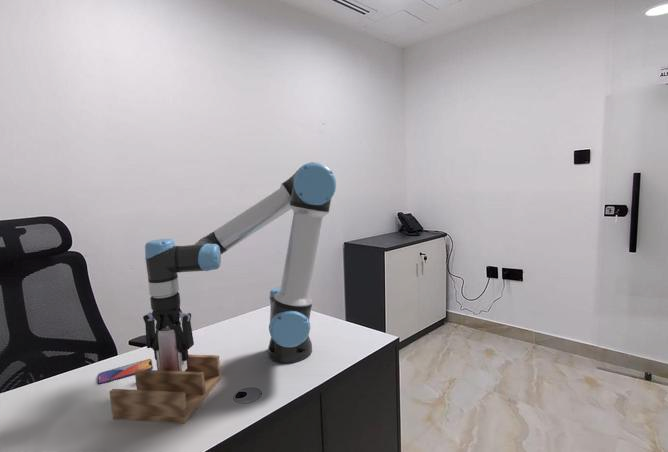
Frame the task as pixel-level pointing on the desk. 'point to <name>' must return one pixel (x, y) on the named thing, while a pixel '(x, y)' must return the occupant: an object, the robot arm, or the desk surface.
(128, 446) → the desk surface
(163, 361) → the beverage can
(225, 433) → the desk surface
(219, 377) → the rack
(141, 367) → the smartphone
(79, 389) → the desk surface
